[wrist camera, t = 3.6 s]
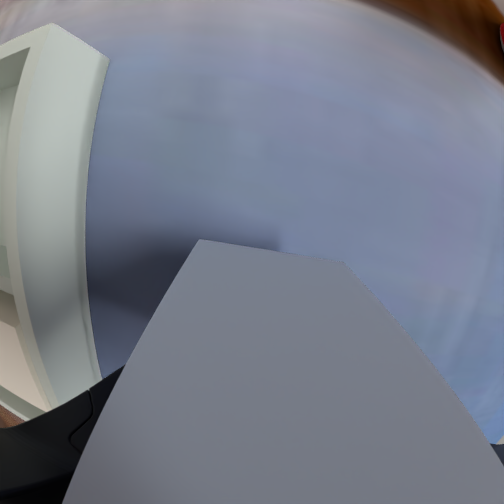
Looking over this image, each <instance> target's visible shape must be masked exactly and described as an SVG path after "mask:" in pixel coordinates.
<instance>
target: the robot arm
mask: <svg viewBox="0 0 504 504" xmlns="http://www.w3.org/2000/svg"><path fill="white" fill-rule="evenodd" d="M125 365H126V364H125ZM125 365H124V366H122V367H121V368H119V369H118V370H116V371H115V372H113V373H112V374H110V375H109V376H107V377H106V378H104V379H103V380H101V381H100V382H98V383H97V384H95V385H93V386H92V387H90V388H89V390H86V391H84V392H82V393H81V394H79V395H78V396H76V397H74V398H73V399H71V400H69V401H68V402H66V403H64V404H62V405H60V406H58V407H56V408H54V409H52V410H50V411H48V412H46V413H44V414H41V415H39V416H37V417H35V418H33V419H30V420H28V421H26V422H23V423H21V424H19V425H16V426H12V427H7V428H0V504H62V503H63V500H64V497H65V495H66V492H67V490H68V487H69V485H70V482H71V480H72V477H73V475H74V472H75V470H76V467H77V465H78V463H79V460H80V458H81V456H82V454H83V451H84V449H85V447H86V444H87V442H88V440H89V438H90V436H91V434H92V431H93V429H94V427H95V425H96V423H97V421H98V419H99V417H100V414H101V412H102V410H103V408H104V406H105V404H106V402H107V400H108V398H109V396H110V394H111V392H112V390H113V388H114V386H115V384H116V382H117V380H118V378H119V377H120V375H121V373H122V371H123V369H124V367H125ZM490 445H491V446H492V448H493V450H494V451H495V453H496V454H497V456H498V458H499V459H500V461H501V463H502V464H503V466H504V444H500V445H496V444H490Z"/></svg>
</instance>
